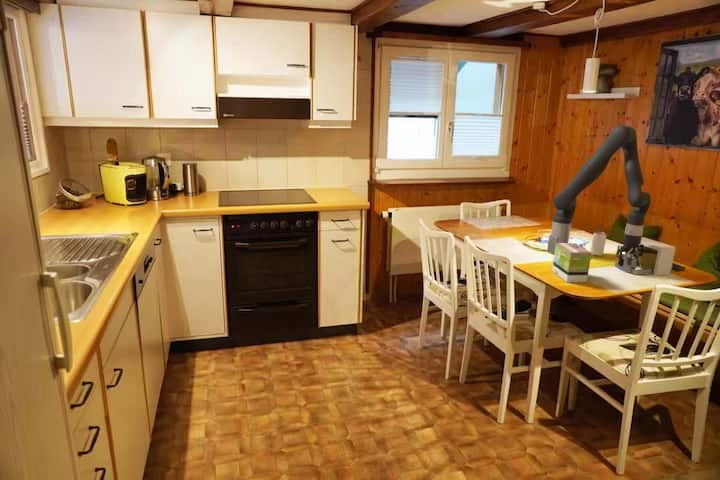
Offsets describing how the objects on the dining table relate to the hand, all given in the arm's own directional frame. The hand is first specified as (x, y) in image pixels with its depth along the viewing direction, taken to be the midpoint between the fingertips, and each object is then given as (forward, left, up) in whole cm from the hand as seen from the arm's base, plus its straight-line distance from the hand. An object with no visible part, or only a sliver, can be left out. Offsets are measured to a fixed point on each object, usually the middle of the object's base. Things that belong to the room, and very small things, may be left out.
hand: (627, 265), depth 239 cm
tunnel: (+13, 0, -3) cm, 14 cm away
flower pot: (+13, 0, -3) cm, 14 cm away
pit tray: (+27, 0, -3) cm, 28 cm away
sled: (+10, 0, -2) cm, 10 cm away
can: (+6, +26, -3) cm, 27 cm away
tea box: (-36, -1, -3) cm, 36 cm away
